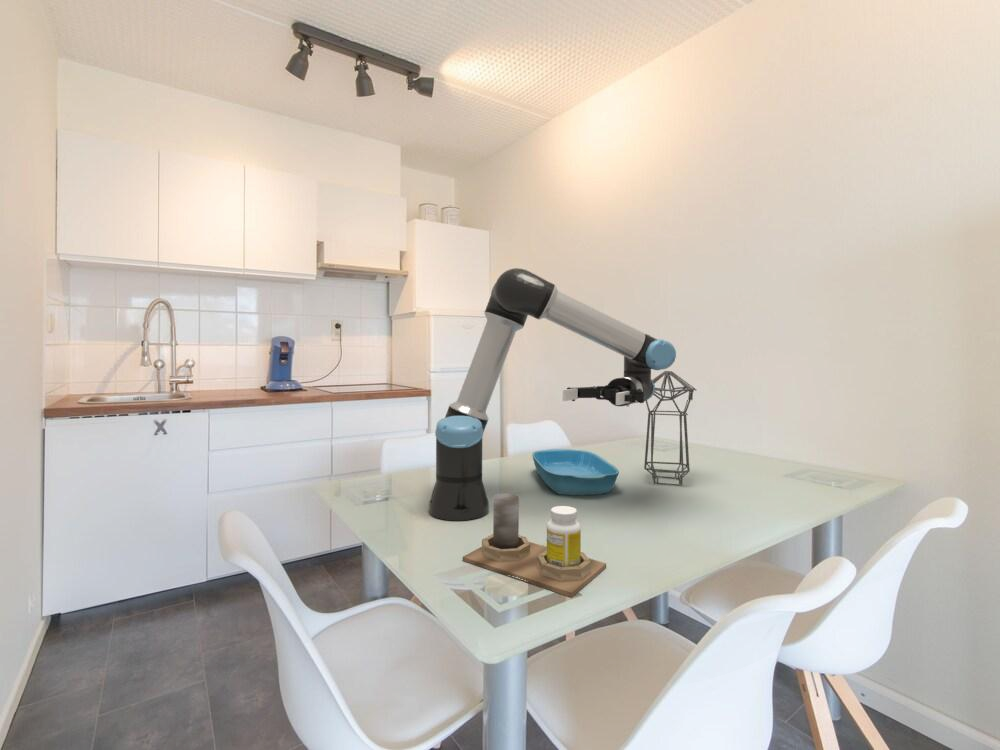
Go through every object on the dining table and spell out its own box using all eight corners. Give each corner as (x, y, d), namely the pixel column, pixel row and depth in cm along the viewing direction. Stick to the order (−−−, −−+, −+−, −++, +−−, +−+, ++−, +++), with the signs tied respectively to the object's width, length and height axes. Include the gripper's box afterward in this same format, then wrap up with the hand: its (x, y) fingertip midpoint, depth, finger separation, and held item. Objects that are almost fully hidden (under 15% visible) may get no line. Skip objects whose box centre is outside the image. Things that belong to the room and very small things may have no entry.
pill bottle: (576, 561, 93) (577, 504, 92) (583, 576, 87) (584, 515, 86) (544, 561, 93) (544, 504, 92) (548, 576, 86) (549, 515, 86)
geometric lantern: (640, 485, 149) (641, 371, 148) (641, 474, 164) (642, 370, 163) (696, 489, 144) (697, 371, 144) (691, 477, 159) (692, 370, 159)
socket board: (462, 560, 95) (462, 500, 94) (504, 538, 106) (504, 484, 105) (571, 597, 81) (572, 527, 80) (606, 567, 92) (607, 505, 92)
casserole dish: (629, 499, 136) (630, 474, 135) (551, 502, 133) (551, 476, 132) (588, 467, 172) (588, 447, 172) (526, 469, 169) (526, 448, 169)
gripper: (670, 408, 125) (641, 417, 107) (581, 402, 139) (543, 409, 122) (671, 379, 124) (642, 383, 107) (582, 375, 139) (544, 379, 122)
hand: (589, 397), depth 114 cm, fingers open, 13 cm apart
